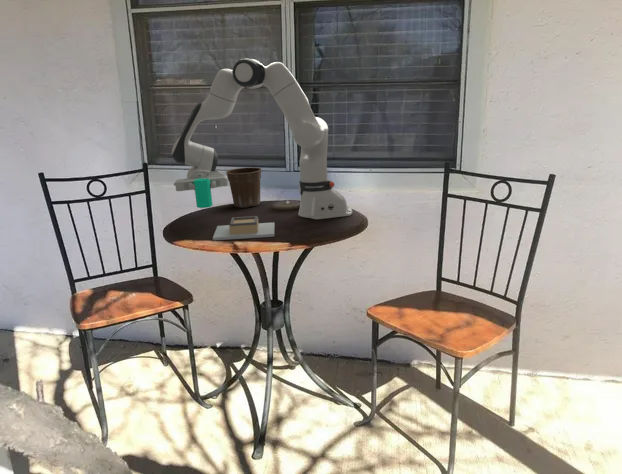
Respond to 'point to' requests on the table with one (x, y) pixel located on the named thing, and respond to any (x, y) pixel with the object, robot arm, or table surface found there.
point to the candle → (203, 192)
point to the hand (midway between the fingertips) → (203, 186)
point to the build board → (261, 232)
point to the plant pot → (245, 186)
